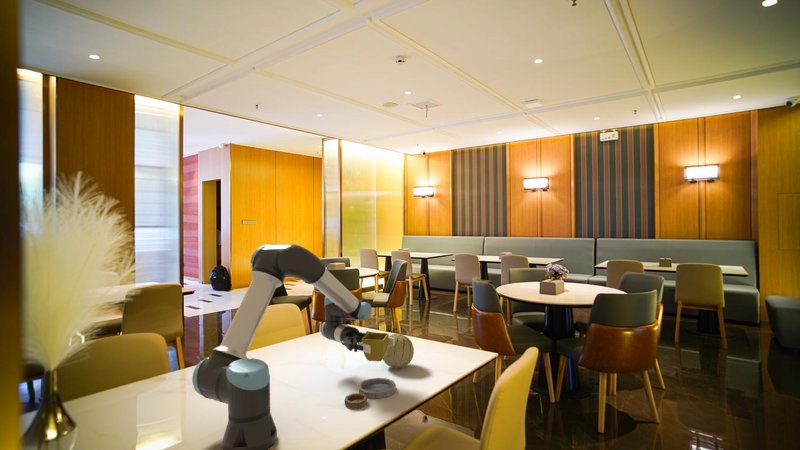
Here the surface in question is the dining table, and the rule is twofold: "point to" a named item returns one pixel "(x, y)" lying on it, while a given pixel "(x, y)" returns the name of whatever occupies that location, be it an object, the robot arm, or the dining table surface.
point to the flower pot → (376, 345)
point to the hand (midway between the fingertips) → (382, 345)
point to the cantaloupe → (399, 352)
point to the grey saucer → (377, 387)
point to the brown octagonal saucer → (355, 400)
